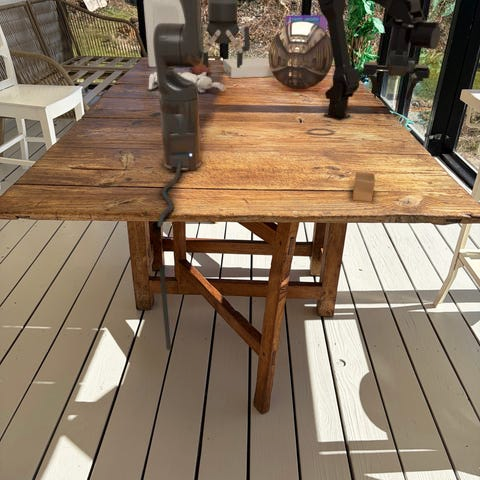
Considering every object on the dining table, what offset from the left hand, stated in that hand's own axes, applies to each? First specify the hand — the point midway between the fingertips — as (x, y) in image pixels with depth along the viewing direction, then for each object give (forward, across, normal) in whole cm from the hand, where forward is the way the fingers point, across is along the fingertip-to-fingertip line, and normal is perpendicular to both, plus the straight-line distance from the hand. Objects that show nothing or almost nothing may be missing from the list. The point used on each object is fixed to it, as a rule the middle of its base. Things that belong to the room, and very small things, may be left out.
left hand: (222, 67), depth 130 cm
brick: (+20, +30, -40) cm, 54 cm away
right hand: (+10, +51, +7) cm, 53 cm away
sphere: (+19, +32, +58) cm, 69 cm away
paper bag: (+18, -21, +108) cm, 111 cm away
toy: (+19, -12, +54) cm, 59 cm away
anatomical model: (+19, -8, +84) cm, 86 cm away
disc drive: (+18, +16, +87) cm, 90 cm away
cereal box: (+18, +39, +86) cm, 96 cm away
